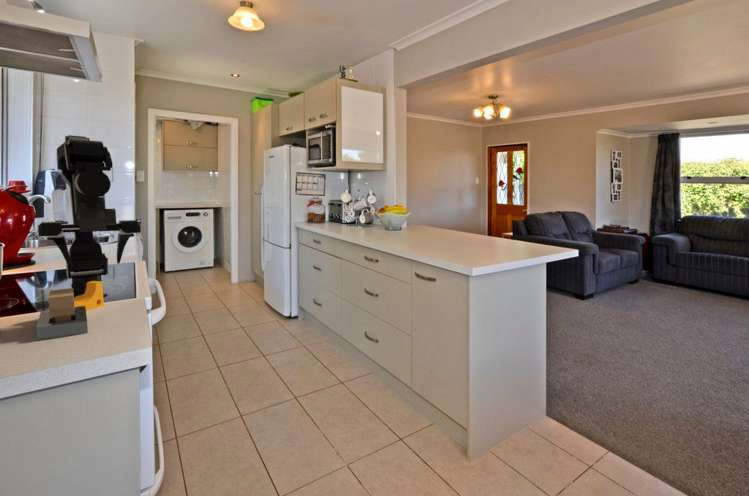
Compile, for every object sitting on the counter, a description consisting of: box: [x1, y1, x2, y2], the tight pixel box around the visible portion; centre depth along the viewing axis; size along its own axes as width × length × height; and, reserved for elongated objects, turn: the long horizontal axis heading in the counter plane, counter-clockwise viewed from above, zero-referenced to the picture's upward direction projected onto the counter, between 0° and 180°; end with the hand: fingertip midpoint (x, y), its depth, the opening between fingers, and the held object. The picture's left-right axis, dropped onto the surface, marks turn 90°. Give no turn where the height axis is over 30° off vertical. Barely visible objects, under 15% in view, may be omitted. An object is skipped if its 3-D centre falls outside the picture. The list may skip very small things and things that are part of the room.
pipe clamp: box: [74, 280, 105, 312], centre depth 97 cm, size 12×4×6 cm, turn 174°
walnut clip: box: [47, 287, 75, 323], centre depth 86 cm, size 8×4×8 cm, turn 37°
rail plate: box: [35, 306, 89, 341], centre depth 86 cm, size 14×8×2 cm, turn 37°
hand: (94, 265), depth 93 cm, fingers open, 9 cm apart
